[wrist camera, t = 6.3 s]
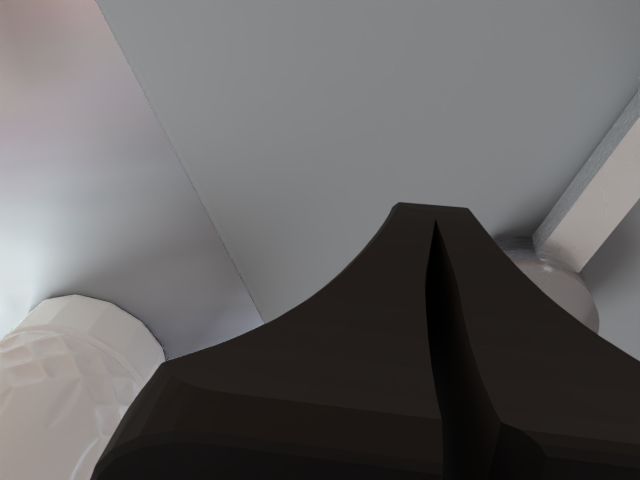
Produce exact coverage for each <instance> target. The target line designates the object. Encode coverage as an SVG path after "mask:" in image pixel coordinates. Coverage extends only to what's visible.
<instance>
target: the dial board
mask: <svg viewBox="0 0 640 480" xmlns="http://www.w3.org/2000/svg"><path fill="white" fill-rule="evenodd" d="M95 1H96V3H97V4H98V6H99V8H100V10H101V12H102V14H103V16H104V18H105V20H106V22H107V24H108V25H109V27H110V29H111V31H112V33H113V35H114V37H115V39H116V41H117V43H118V45H119V46H120V48H121V50H122V52H123V54H124V56H125V58H126V60H127V62H128V64H129V66H130V67H131V69H132V71H133V73H134V75H135V77H136V79H137V81H138V83H139V85H140V87H141V88H142V90H143V92H144V94H145V96H146V98H147V100H148V102H149V104H150V106H151V108H152V109H153V111H154V113H155V115H156V117H157V119H158V121H159V123H160V125H161V127H162V129H163V130H164V132H165V134H166V136H167V138H168V140H169V142H170V144H171V146H172V148H173V149H174V151H175V153H176V155H177V157H178V159H179V161H180V163H181V165H182V167H183V169H184V170H185V172H186V174H187V176H188V178H189V180H190V182H191V184H192V186H193V188H194V190H195V191H196V193H197V195H198V197H199V199H200V201H201V203H202V205H203V207H204V209H205V211H206V212H207V214H208V216H209V218H210V220H211V222H212V224H213V226H214V228H215V230H216V232H217V233H218V235H219V237H220V239H221V241H222V243H223V245H224V247H225V249H226V251H227V253H228V254H229V256H230V258H231V260H232V262H233V264H234V266H235V268H236V270H237V272H238V274H239V275H240V277H241V279H242V281H243V283H244V285H245V287H246V289H247V291H248V293H249V295H250V296H251V298H252V300H253V302H254V304H255V306H256V308H257V310H258V312H259V314H260V316H261V317H262V319H263V321H264V323H265V324H266V323H268V322H270V321H272V320H274V319H276V318H278V317H279V316H281V315H283V314H284V313H286V312H288V311H289V310H291V309H293V308H294V307H296V306H298V305H299V304H301V303H302V302H304V301H305V300H307V299H308V298H310V297H311V296H312V295H314V294H315V293H316V292H318V291H319V290H320V289H322V288H323V287H324V286H325V285H326V284H328V283H329V282H330V281H331V280H332V279H334V278H335V277H336V276H337V275H338V274H339V273H340V272H341V271H342V270H343V269H344V268H345V267H346V266H347V265H348V264H349V263H350V262H351V261H352V260H353V259H354V258H355V257H356V256H357V255H358V254H359V253H360V252H361V251H362V250H363V249H364V247H365V246H366V245H367V244H368V243H369V241H370V240H371V239H372V238H373V236H374V235H375V234H376V233H377V231H378V230H379V229H380V227H381V226H382V224H383V223H384V222H385V220H386V218H387V217H388V215H389V213H390V211H391V209H392V207H393V206H394V205H396V204H397V203H398V202H406V203H417V204H429V205H441V206H453V207H465V208H469V210H470V211H471V212H472V213H473V215H474V216H475V217H476V218H477V220H478V221H479V222H480V223H481V225H482V226H483V227H484V228H485V230H486V231H487V232H488V234H489V235H490V236H491V237H492V238H493V240H494V241H497V240H500V239H504V238H509V237H517V236H530V237H532V236H533V234H534V233H535V231H536V230H537V229H538V227H539V226H540V225H541V223H542V222H543V221H544V219H545V218H546V216H547V215H548V214H549V212H550V211H551V210H552V208H553V207H554V205H555V204H556V203H557V201H558V200H559V199H560V197H561V196H562V195H563V193H564V192H565V190H566V189H567V188H568V186H569V185H570V184H571V182H572V181H573V180H574V178H575V177H576V175H577V174H578V173H579V171H580V170H581V169H582V167H583V166H584V164H585V163H586V162H587V160H588V159H589V158H590V156H591V155H592V154H593V152H594V151H595V149H596V148H597V147H598V145H599V144H600V143H601V141H602V140H603V139H604V137H605V136H606V134H607V133H608V132H609V130H610V129H611V128H612V126H613V125H614V123H615V122H616V121H617V119H618V118H619V117H620V115H621V114H622V113H623V111H624V110H625V108H626V107H627V106H628V104H629V103H630V102H631V100H632V99H633V98H634V96H635V95H636V93H637V92H638V82H639V76H640V0H95ZM581 270H582V272H583V275H584V277H585V280H586V282H587V285H588V287H589V290H590V292H591V295H592V297H593V300H594V303H595V305H596V308H597V311H598V314H599V332H598V335H599V336H601V337H602V338H604V339H605V340H607V341H609V342H610V343H612V344H613V345H615V346H616V347H618V348H620V349H621V350H623V351H624V352H626V353H627V354H629V355H631V356H632V357H634V358H635V359H637V360H639V361H640V198H639V199H638V201H637V202H636V203H635V204H634V206H633V207H632V208H631V209H630V211H629V212H628V213H627V214H626V215H625V217H624V218H623V219H622V220H621V222H620V223H619V224H618V225H617V226H616V228H615V229H614V230H613V231H612V233H611V234H610V235H609V236H608V237H607V239H606V240H605V241H604V242H603V244H602V245H601V246H600V247H599V248H598V250H597V251H596V252H595V253H594V255H593V256H592V257H591V258H590V260H589V261H588V262H587V263H586V264H585V266H584V267H583V268H582V269H581Z"/></svg>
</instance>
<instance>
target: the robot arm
mask: <svg viewBox="0 0 640 480" xmlns="http://www.w3.org/2000/svg"><path fill="white" fill-rule="evenodd" d="M90 480H640V361H639V360H637V359H635V358H634V357H632V356H631V355H629V354H627V353H626V352H624V351H623V350H621V349H620V348H618V347H616V346H615V345H613V344H612V343H610V342H609V341H607V340H605V339H604V338H602V337H601V336H599V335H598V334H597V333H595V332H594V331H592V330H591V329H589V328H588V327H586V326H585V325H584V324H582V323H581V322H580V321H579V320H577V319H576V318H575V317H573V316H572V315H571V314H570V313H568V312H567V311H566V310H564V309H563V308H562V307H561V306H559V305H558V304H557V303H556V302H554V301H553V300H552V299H551V298H550V297H549V296H547V295H546V294H545V293H544V292H543V291H542V290H541V289H540V288H539V287H538V286H537V285H536V284H535V283H533V282H532V281H531V280H530V279H529V278H528V277H527V276H526V275H525V274H524V273H523V272H522V271H521V270H520V269H519V268H518V267H517V266H516V265H515V264H514V263H513V262H512V260H511V259H510V258H509V257H508V256H507V255H506V254H505V253H504V252H503V250H502V249H501V248H500V247H499V246H498V245H497V243H496V242H495V241H494V240H493V238H492V237H491V236H490V235H489V234H488V232H487V231H486V230H485V228H484V227H483V226H482V225H481V223H480V222H479V221H478V220H477V218H476V217H475V216H474V215H473V213H472V212H471V211H470V210H469V208H465V207H453V206H441V205H429V204H417V203H406V202H398V203H397V204H396V205H394V206H393V207H392V209H391V211H390V213H389V215H388V217H387V218H386V220H385V222H384V223H383V224H382V226H381V227H380V229H379V230H378V231H377V233H376V234H375V235H374V236H373V238H372V239H371V240H370V241H369V243H368V244H367V245H366V246H365V247H364V249H363V250H362V251H361V252H360V253H359V254H358V255H357V256H356V257H355V258H354V259H353V260H352V261H351V262H350V263H349V264H348V265H347V266H346V267H345V268H344V269H343V270H342V271H341V272H340V273H339V274H338V275H337V276H336V277H335V278H334V279H332V280H331V281H330V282H329V283H328V284H326V285H325V286H324V287H323V288H322V289H320V290H319V291H318V292H316V293H315V294H314V295H312V296H311V297H310V298H308V299H307V300H305V301H304V302H302V303H301V304H299V305H298V306H296V307H294V308H293V309H291V310H289V311H288V312H286V313H284V314H283V315H281V316H279V317H278V318H276V319H274V320H272V321H270V322H268V323H266V324H264V325H262V326H260V327H258V328H256V329H254V330H252V331H249V332H247V333H245V334H242V335H240V336H238V337H236V338H233V339H231V340H228V341H226V342H223V343H221V344H218V345H215V346H212V347H209V348H206V349H203V350H200V351H197V352H194V353H191V354H188V355H185V356H182V357H179V358H176V359H173V360H169V361H166V362H162V363H161V364H160V365H159V367H158V368H157V370H156V371H155V373H154V374H153V375H152V377H151V378H150V379H149V381H148V382H147V383H146V385H145V386H144V387H143V388H142V389H141V391H140V392H139V394H138V395H137V396H136V398H135V399H134V401H133V402H132V404H131V405H130V406H129V408H128V409H127V411H126V413H125V414H124V416H123V418H122V419H121V421H120V423H119V425H118V426H117V428H116V430H115V432H114V433H113V435H112V437H111V439H110V441H109V442H108V444H107V446H106V448H105V449H104V451H103V453H102V455H101V456H100V458H99V460H98V462H97V463H96V465H95V467H94V470H93V473H92V475H91V478H90Z"/></svg>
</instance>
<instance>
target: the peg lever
mask: <svg viewBox="0 0 640 480" xmlns="http://www.w3.org/2000/svg"><path fill="white" fill-rule="evenodd" d="M639 198H640V76H639V82H638V92H637V93H636V95H635V96H634V98H633V99H632V100H631V102H630V103H629V104H628V106H627V107H626V108H625V110H624V111H623V113H622V114H621V115H620V117H619V118H618V119H617V121H616V122H615V123H614V125H613V126H612V128H611V129H610V130H609V132H608V133H607V134H606V136H605V137H604V139H603V140H602V141H601V143H600V144H599V145H598V147H597V148H596V149H595V151H594V152H593V154H592V155H591V156H590V158H589V159H588V160H587V162H586V163H585V164H584V166H583V167H582V169H581V170H580V171H579V173H578V174H577V175H576V177H575V178H574V180H573V181H572V182H571V184H570V185H569V186H568V188H567V189H566V190H565V192H564V193H563V195H562V196H561V197H560V199H559V200H558V201H557V203H556V204H555V205H554V207H553V208H552V210H551V211H550V212H549V214H548V215H547V216H546V218H545V219H544V221H543V222H542V223H541V225H540V226H539V227H538V229H537V230H536V231H535V233H534V234H533V236H532V237H530V236H517V237H509V238H504V239H500V240H497V241H495V242H496V243H497V245H498V246H499V247H500V248H501V249H502V250H503V252H504V253H505V254H506V255H507V256H508V257H509V258H510V259H511V260H512V262H513V263H514V264H515V265H516V266H517V267H518V268H519V269H520V270H521V271H522V272H523V273H524V274H525V275H526V276H527V277H528V278H529V279H530V280H531V281H532V282H533V283H535V284H536V285H537V286H538V287H539V288H540V289H541V290H542V291H543V292H544V293H545V294H546V295H547V296H549V297H550V298H551V299H552V300H553V301H554V302H556V303H557V304H558V305H559V306H561V307H562V308H563V309H564V310H566V311H567V312H568V313H570V314H571V315H572V316H573V317H575V318H576V319H577V320H579V321H580V322H581V323H582V324H584V325H585V326H586V327H588V328H589V329H591V330H592V331H594V332H595V333H597V334H598V332H599V314H598V311H597V308H596V305H595V303H594V300H593V297H592V295H591V292H590V290H589V287H588V285H587V282H586V280H585V277H584V275H583V272H582V270H581V269H582V268H583V267H584V266H585V264H586V263H587V262H588V261H589V260H590V258H591V257H592V256H593V255H594V253H595V252H596V251H597V250H598V248H599V247H600V246H601V245H602V244H603V242H604V241H605V240H606V239H607V237H608V236H609V235H610V234H611V233H612V231H613V230H614V229H615V228H616V226H617V225H618V224H619V223H620V222H621V220H622V219H623V218H624V217H625V215H626V214H627V213H628V212H629V211H630V209H631V208H632V207H633V206H634V204H635V203H636V202H637V201H638V199H639Z"/></svg>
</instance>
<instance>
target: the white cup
mask: <svg viewBox="0 0 640 480" xmlns="http://www.w3.org/2000/svg"><path fill="white" fill-rule="evenodd" d="M162 362H166V360H165V356H164V352H163V348H162V347H161V345H160V344H159V343H158V341H157V340H156V339H155V338H154V336H153V335H152V334H151V333H150V331H149V330H148V329H147V328H146V326H145V325H144V324H143V323H142V322H141V321H140V320H138V319H136V318H135V317H133V316H132V315H130V314H128V313H127V312H125V311H124V310H122V309H120V308H119V307H117V306H116V305H114V304H112V303H110V302H107V301H102V300H98V299H94V298H90V297H85V296H81V295H76V294H74V295H68V296H62V297H56V298H50V299H45V300H43V301H42V302H41V303H39V304H38V305H37V306H36V307H35V308H34V309H32V310H31V311H30V312H29V313H28V314H27V315H26V316H24V317H23V318H22V319H21V320H20V321H19V322H18V323H17V324H16V325H15V326H14V327H13V328H12V329H11V330H10V331H9V332H8V333H7V334H6V335H5V336H4V337H3V338H1V339H0V480H90V478H91V475H92V473H93V470H94V467H95V465H96V463H97V462H98V460H99V458H100V456H101V455H102V453H103V451H104V449H105V448H106V446H107V444H108V442H109V441H110V439H111V437H112V435H113V433H114V432H115V430H116V428H117V426H118V425H119V423H120V421H121V419H122V418H123V416H124V414H125V413H126V411H127V409H128V408H129V406H130V405H131V404H132V402H133V401H134V399H135V398H136V396H137V395H138V394H139V392H140V391H141V389H142V388H143V387H144V386H145V385H146V383H147V382H148V381H149V379H150V378H151V377H152V375H153V374H154V373H155V371H156V370H157V368H158V367H159V365H160V364H161V363H162Z"/></svg>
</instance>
